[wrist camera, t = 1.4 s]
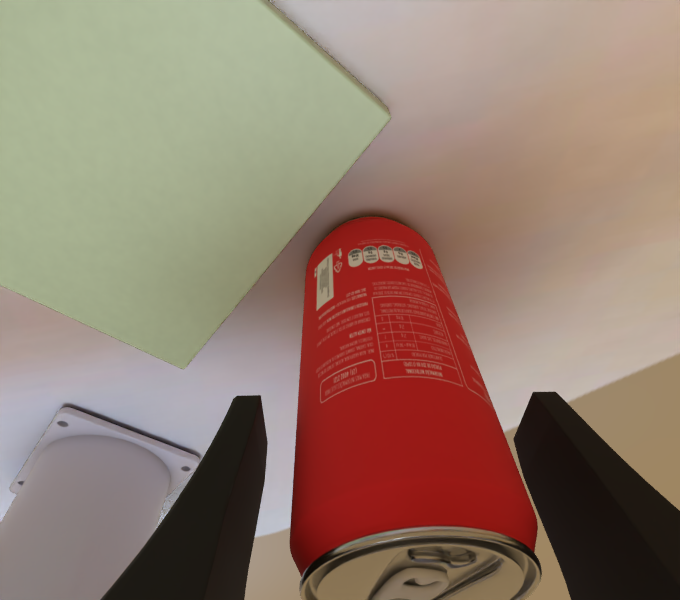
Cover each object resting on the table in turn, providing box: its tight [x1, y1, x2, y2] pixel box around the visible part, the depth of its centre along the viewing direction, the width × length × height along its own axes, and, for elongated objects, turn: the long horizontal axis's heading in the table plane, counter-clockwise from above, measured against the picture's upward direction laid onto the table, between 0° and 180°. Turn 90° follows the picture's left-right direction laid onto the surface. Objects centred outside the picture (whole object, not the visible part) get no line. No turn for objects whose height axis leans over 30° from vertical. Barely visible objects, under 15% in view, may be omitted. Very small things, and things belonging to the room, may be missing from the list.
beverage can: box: [290, 216, 542, 600], centre depth 13 cm, size 5×5×12 cm
